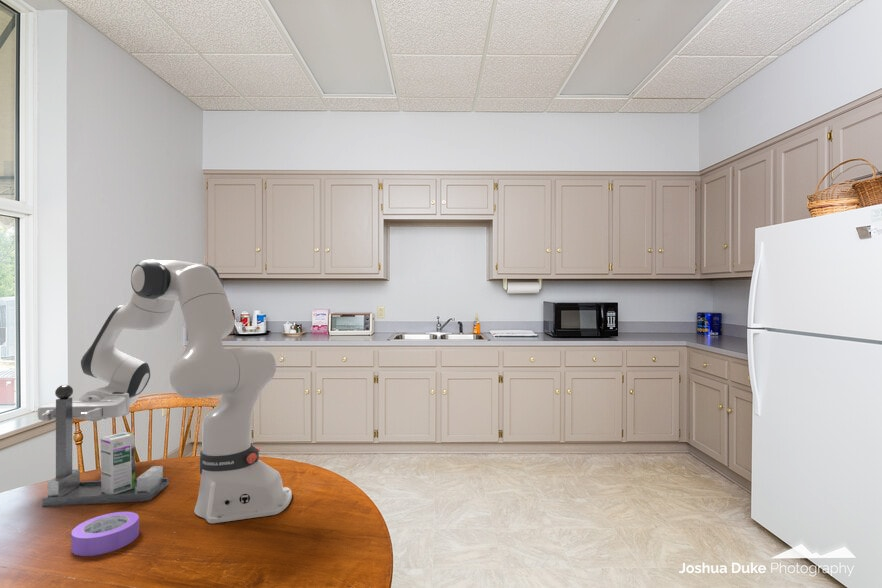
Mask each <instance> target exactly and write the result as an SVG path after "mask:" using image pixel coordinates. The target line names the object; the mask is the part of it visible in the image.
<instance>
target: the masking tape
mask: <svg viewBox="0 0 882 588" xmlns="http://www.w3.org/2000/svg"><path fill="white" fill-rule="evenodd" d="M139 535H140V516H139V514H138V513H136V512H132V511H118V512H117V511H116V512H111V513H106V514H102V515H99V516H95V517H93V518H90V519H87V520H85V521H83V522H81V523H79V524H78V525H76V526H75V527H74V528H73V529H72V530H71V537H70V538H71V540H70V541H71V542H70V543H71V544H70V547H71V548H70V550H71V551H70V552H71V553H72V554H73V553H74V554H73V555H75V556H78V555H79V557H93V556H99V555H104V554H108V553H111V552H114V551H117V550H119V549H122V548H123V547H126V546H128V545H129V544H131V543H132V542H134V541H135V540H136V539H138V537H139Z"/></svg>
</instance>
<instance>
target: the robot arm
mask: <svg viewBox="0 0 882 588" xmlns="http://www.w3.org/2000/svg"><path fill="white" fill-rule="evenodd" d="M130 284H131V288H132V293H131V294H130V298H129V300H128V302H127V303H126V304H125V303H124V304H120V305H118V306H117V307H115V308H114V309H113V310H112V311H111V313H110V314H109V315H108V317H107V318H106V320H105V322H104V323H103V324H102V327H101V328H100V330H99V332H98V334H97V335H96V337H95V339H94V340H93V342H92V344H91V345H90V347H89V348H88V349H87V351H86V352H85V353H84V354H83V356H82V358H81V360H80V366H81V371H82V372H83V373H84V375H86V376H89V377H92V378H94V379H95V378H96V379H98V380H101V381H103V382H105V383H107V384H108V385H105V386H104V387H103V386H102V387H99V388H96V389H92V390H89V391H87V392H85V393H83V394H82V395H81V396H80V397H79V399H78V400H72V420H76V419H77V420H79V419H80V420H81V421H82V420H86V421H90V422H99V421H101V420H107V419H113V418H119V417H125V416H129V413H130V407H131V406H133V405H134V404H135V402H136V401H138V399H140V398H139V397H140V395H141V394H142V392H143V391H144V390H145V388H146V387H147V385H148V383H149V380H150V379H151V370H150V369H151V368H150V366H149V363H148V362H145V361H143V360H141V359H139V358H137V357H135V356H132V355H130V354H127V353H125V352H123V351H121V350H119V349H118V348H117V347H116V346H115V343H116V341H117V339H118V338H119V336H120V334H121V332H122V331H123V330H125V329H127V330H136V331H149V330H154V329H157V328H160V327H161V326H163V325H165V324H166V323H167V322H168V320H169V319H170V317H171V314H172V311H173V309H174V307H175V303H176V301H177V302H179V305H180V308H181V312H182V315H183V319H184V322H185V327H186V332H187V344H186V347H185V349H184V352H183V353H182V354H181V355H180V356H179V358H177V359H176V361H174V363H173V365H172V367H171V369H170V373H169V382H170V385H171V388H172V390H173V391H174V392H175V394H177V395H178V396H179V397H180V398H183V399H205V398H211V397H215V396H221V398H220V400H219V402H218V403H217V405H216V406H215V407H213V409H211V410H210V411H209V412H208V413H207V414H206V415H205V416H204V418H203V420H202V424H201V450H200V453H199V461H198V462H199V463H198V464H199V474H200V483H199V484H200V485H199V490H198V494H197V495H198V496H197V499H196V500H197V501H196V503H195V507H194V512H193V513H194V514H195V515H197V516H198V517H200V518H202V519H205V520H206V522H207V523H209V524H218V523H219V524H220V523H224V522H225V523H226V522H231V521H232V522H233V521H238V520H239V521H240V520H246V519H252V518H262V517H268V516H275V515H278V514H280V513H282V512H283V511H284V510H285V509H286V508H287V507H288V506H289V504H290V503H291V501H292V498H293V494H292V493H293V492H292V489H291V488H289V487H287V486H284V485H283V480H282V476H281V474H280V472H279V471H278V470H276V469H274V468H273V467H272V466H270V465H268V464H266V463H265V462H263V461H262V460H260V459H259V458H260V448H261V447H260V446H258V447H255V446H254V445H252V443H251V442H252V441H251V439H252V421H253V420H252V419H253V418H252V417H253V414H254V413H253V412H254V409H255V406H256V403H257V401H258V400H259V399H258V398H259V397H260V394H261V393H262V391H263V389H265V387H266V386H267V385H268V384H269V383H270V382H271V381H272V380H273V378H274V376H275V374H276V370H277V363H276V359H275V357H274V355H273V354H272V352H271V351H270V350H269V349H267V348H263V347H258V346H257V347H255V346H245V347H244V346H243V347H233V348H225V347H224V345H223V339H225V338H227V337H228V336H229V335H230V334H231V333H232V332H233V330H234V328H235V324H236V320H235V317H234V314H233V311H232V308H231V304H230V302H229V299H228V296H227V294H226V291H225V289H224V286H223V284H222V282H221V279H220V274H219V272H218V270H217V269H216V268H215V267H214V266H212V265H209V264H206V263H201V262H200V263H195V262H190V261H181V260H179V259H177V260H174V259H162V260H161V259H159V260H157V259H155V258H154V259H145V260H141V261H139V262H137V263H136V264H135V266H134V267H133V268H132V271H131V275H130ZM37 418H38V420H40V421H41V422H49V421H51V420H52V421H53V420H55V421H56V401H55V402H50V403H47V404H44V405H41V406H39V407H37Z"/></svg>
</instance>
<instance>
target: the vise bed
mask: <svg viewBox="0 0 882 588" xmlns="http://www.w3.org/2000/svg"><path fill="white" fill-rule="evenodd" d="M163 467H164V466H163V465H155V466H154V465H152V466H151V467H150V468H149V469H147V470H146V471H144V472H143V473H142V474H140V475H139V476H137V477H136V478H135V488H134V489H130V490H127V491H124V492H121V493H118V494H106V493H104V492H102V491H101V480H87V481H80V486H78V487H77V488H75V489H73V490H72V491H70V492H69V493H67V494H65V495H64V496H62V497H48V496H47V497H43V498H42V499H41V500H42V507H56V506H57V507H58V505H61V506H77V505H76V504H81V505H96V503H101V504H118V503H119V502H120V503H136V502H138V501H140V502H150V501H151V500H153V499H154V498H155V497H156V496H157V495H159V494H160V493H161V492H162V491H163V490H164V489H165V488H166V487H168V486H169V477H163V476H164V473H163V472H164V471H163V469H164V468H163ZM153 497H154V498H153ZM94 503H95V504H94Z"/></svg>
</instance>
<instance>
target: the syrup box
mask: <svg viewBox="0 0 882 588" xmlns="http://www.w3.org/2000/svg"><path fill="white" fill-rule="evenodd" d="M135 479H136V435H135V434H134V433H132V432H129V431H122V432H119V433H118V432H117V433H114V434H110V435H106V436H105V435H104V436H101V437H100V481H101V491H102V492H104V493H106V494H118V493H121V492H124V491H127V490H130V489H134V488H135Z"/></svg>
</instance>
